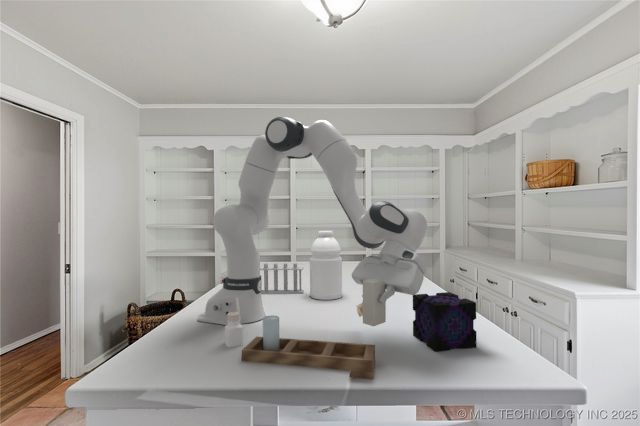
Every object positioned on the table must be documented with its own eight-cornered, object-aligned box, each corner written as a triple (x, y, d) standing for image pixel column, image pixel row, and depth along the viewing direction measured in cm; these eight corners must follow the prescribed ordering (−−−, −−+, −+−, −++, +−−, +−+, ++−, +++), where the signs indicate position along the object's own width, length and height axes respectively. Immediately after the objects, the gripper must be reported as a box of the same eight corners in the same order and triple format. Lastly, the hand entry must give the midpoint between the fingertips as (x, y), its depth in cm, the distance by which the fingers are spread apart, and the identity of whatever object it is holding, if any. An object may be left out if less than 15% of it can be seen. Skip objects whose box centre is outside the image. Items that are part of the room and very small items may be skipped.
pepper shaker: (224, 348, 92) (224, 312, 92) (239, 345, 94) (238, 310, 94) (228, 353, 89) (227, 316, 89) (243, 350, 91) (243, 314, 91)
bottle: (311, 292, 154) (310, 230, 154) (341, 292, 154) (341, 229, 154) (309, 300, 140) (308, 232, 140) (342, 300, 140) (342, 231, 140)
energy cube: (450, 332, 102) (449, 292, 102) (476, 347, 91) (476, 302, 91) (413, 335, 100) (412, 294, 100) (435, 352, 88) (434, 305, 88)
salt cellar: (260, 357, 82) (260, 320, 82) (266, 350, 86) (266, 315, 86) (276, 358, 81) (276, 321, 81) (282, 352, 85) (281, 315, 85)
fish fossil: (389, 325, 110) (389, 321, 110) (357, 327, 111) (357, 323, 111) (380, 302, 136) (379, 299, 136) (354, 304, 137) (354, 301, 137)
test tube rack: (247, 294, 153) (247, 264, 153) (249, 291, 158) (249, 263, 157) (303, 293, 153) (302, 264, 152) (304, 291, 157) (303, 262, 157)
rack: (241, 367, 81) (241, 350, 81) (256, 351, 89) (256, 336, 89) (372, 379, 74) (372, 360, 74) (375, 361, 83) (375, 344, 83)
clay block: (362, 323, 89) (362, 280, 89) (374, 318, 92) (374, 278, 92) (373, 326, 86) (373, 282, 86) (385, 322, 90) (385, 280, 90)
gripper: (361, 248, 101) (337, 286, 95) (423, 255, 86) (400, 300, 80) (370, 262, 105) (348, 299, 98) (432, 270, 89) (411, 315, 83)
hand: (372, 300), depth 89 cm, fingers closed on clay block, 3 cm apart
